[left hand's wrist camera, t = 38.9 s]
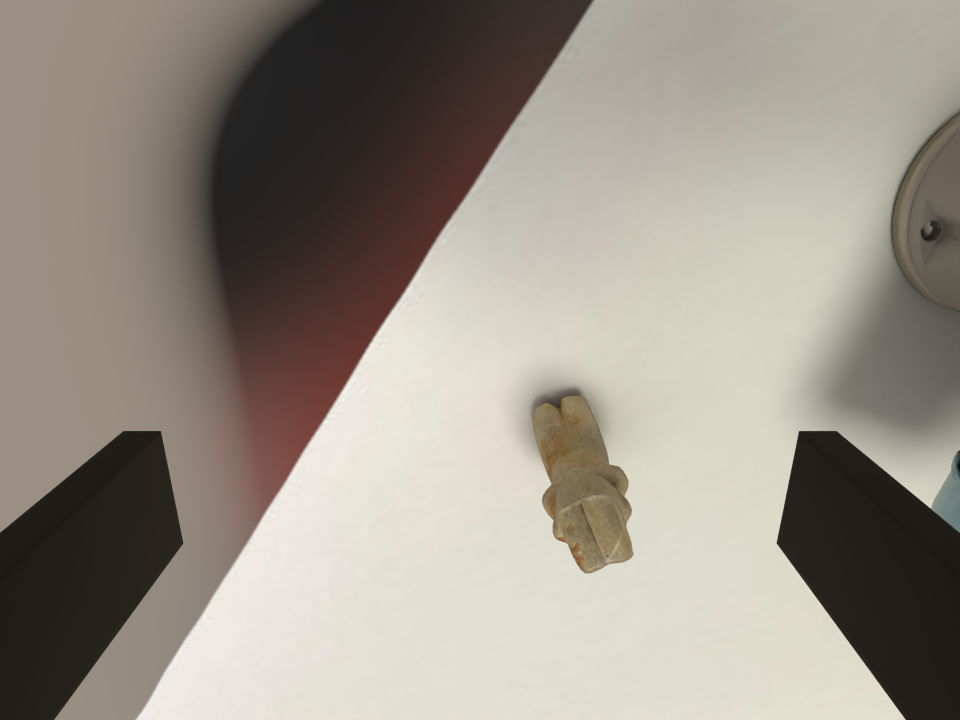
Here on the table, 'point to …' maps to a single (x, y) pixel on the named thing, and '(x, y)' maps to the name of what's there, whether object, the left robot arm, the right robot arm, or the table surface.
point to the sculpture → (582, 485)
